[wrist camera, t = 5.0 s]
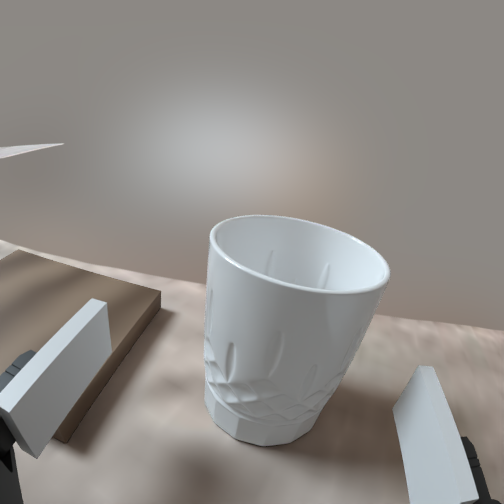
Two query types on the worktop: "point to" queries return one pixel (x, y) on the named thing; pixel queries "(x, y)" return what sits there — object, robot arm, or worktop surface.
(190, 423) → the worktop surface
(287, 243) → the white cup
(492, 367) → the worktop surface
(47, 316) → the board
